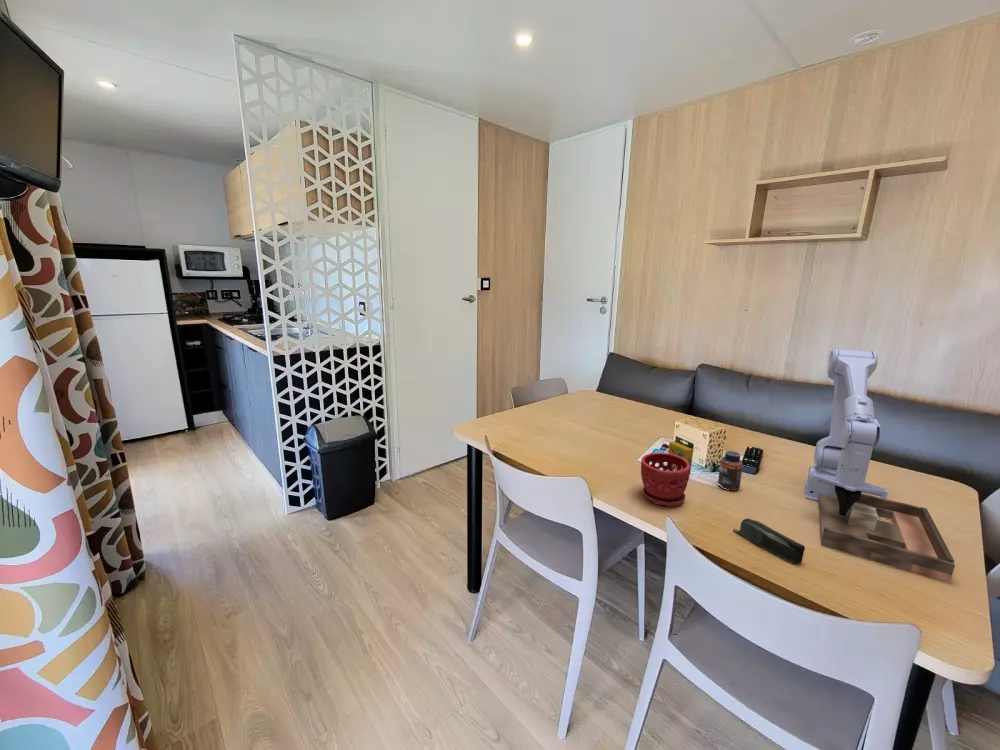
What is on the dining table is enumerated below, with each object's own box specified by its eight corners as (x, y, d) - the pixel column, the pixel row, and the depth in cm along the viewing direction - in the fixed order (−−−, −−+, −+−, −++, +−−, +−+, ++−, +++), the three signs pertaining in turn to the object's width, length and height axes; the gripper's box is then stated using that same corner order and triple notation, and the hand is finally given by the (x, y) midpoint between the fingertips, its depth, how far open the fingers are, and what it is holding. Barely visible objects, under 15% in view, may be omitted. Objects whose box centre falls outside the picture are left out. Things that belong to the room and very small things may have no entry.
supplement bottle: (739, 485, 129) (744, 451, 126) (738, 493, 124) (744, 459, 121) (718, 480, 132) (722, 447, 129) (716, 488, 127) (721, 454, 124)
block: (848, 524, 106) (851, 510, 105) (847, 515, 110) (850, 501, 109) (874, 531, 103) (878, 517, 102) (871, 521, 107) (875, 508, 106)
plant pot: (663, 484, 130) (667, 448, 127) (696, 505, 118) (701, 466, 115) (629, 491, 125) (632, 455, 122) (659, 514, 113) (664, 474, 110)
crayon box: (665, 468, 140) (669, 436, 137) (671, 467, 141) (675, 435, 138) (684, 478, 134) (688, 444, 131) (690, 476, 135) (694, 443, 132)
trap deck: (821, 544, 101) (824, 526, 100) (817, 497, 122) (820, 482, 121) (949, 583, 88) (955, 563, 87) (920, 523, 110) (925, 506, 109)
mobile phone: (807, 544, 94) (740, 511, 106) (801, 549, 92) (734, 515, 104) (802, 563, 95) (737, 528, 107) (796, 567, 93) (731, 532, 106)
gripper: (817, 464, 106) (808, 511, 109) (894, 480, 98) (881, 531, 101) (817, 454, 112) (807, 500, 115) (889, 469, 103) (877, 517, 107)
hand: (842, 513), depth 108 cm, fingers closed
